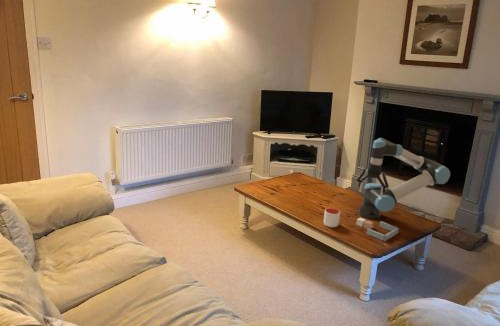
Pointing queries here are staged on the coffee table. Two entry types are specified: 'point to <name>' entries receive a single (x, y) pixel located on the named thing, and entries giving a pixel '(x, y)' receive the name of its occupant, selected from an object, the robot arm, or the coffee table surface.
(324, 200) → the coffee table surface
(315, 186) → the coffee table surface
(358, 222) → the tile rear
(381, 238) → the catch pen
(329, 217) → the cup
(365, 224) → the tile front
